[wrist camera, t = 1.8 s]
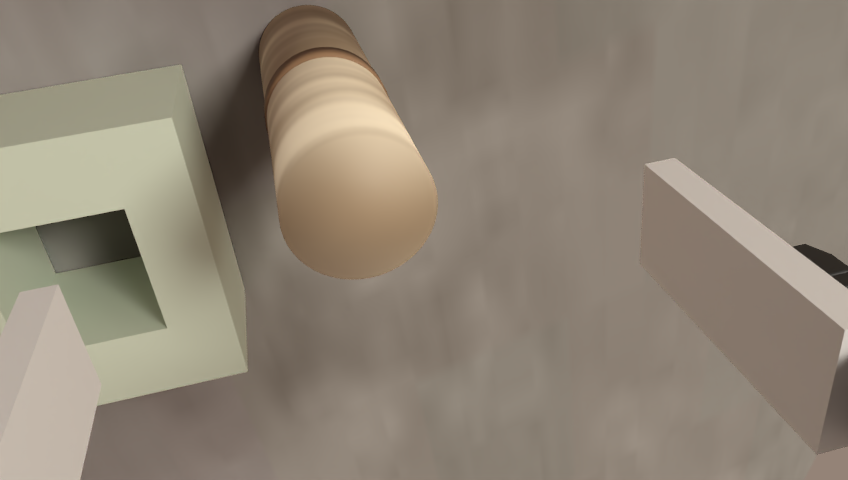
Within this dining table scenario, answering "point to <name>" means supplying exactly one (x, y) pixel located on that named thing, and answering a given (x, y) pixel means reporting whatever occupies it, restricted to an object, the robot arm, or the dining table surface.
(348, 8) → the dining table surface
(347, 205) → the dowel
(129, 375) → the pale green holed block
